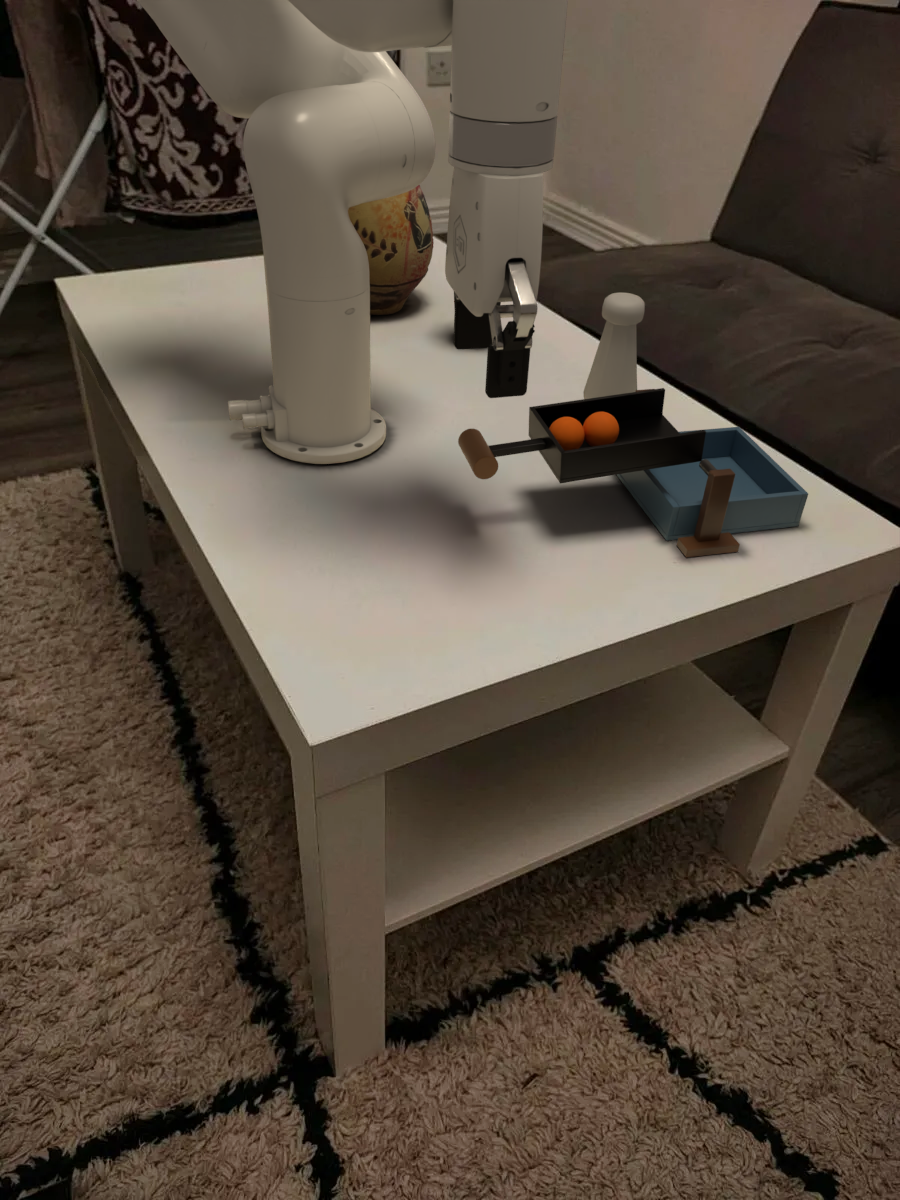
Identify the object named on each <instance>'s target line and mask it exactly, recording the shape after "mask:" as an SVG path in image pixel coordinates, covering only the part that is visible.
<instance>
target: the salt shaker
mask: <svg viewBox="0 0 900 1200" xmlns="http://www.w3.org/2000/svg"><path fill="white" fill-rule="evenodd" d="M645 306H646V302H645V301H644V299H642V297H640V296H639V295H636V294H634V293H629V292H614V293H611V294H608V295H607V296H606V297H604V301H603V303H602V307H601V316H602V318H603V319H604V320H605V324H604V328H603V331H602V333H601V337H600V340H599V343H598V346H597V350H596V352H595V355H594V358H593V362H592V365H591V368H590V370H589V374H588V376H587V380H586V383H585V386H584V389H583V399H590V398H597V397H604V396H611V395H618V394H625V393H632V392H635V391H636V390H638V373H637V372H638V363H637V360H638V359H637V358H638V354H637V351H638V349H637V343H638V342H637V325H638V324H639V323H642V322H643V319H644V316H645V311H646V310H645V308H646V307H645Z"/></svg>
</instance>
